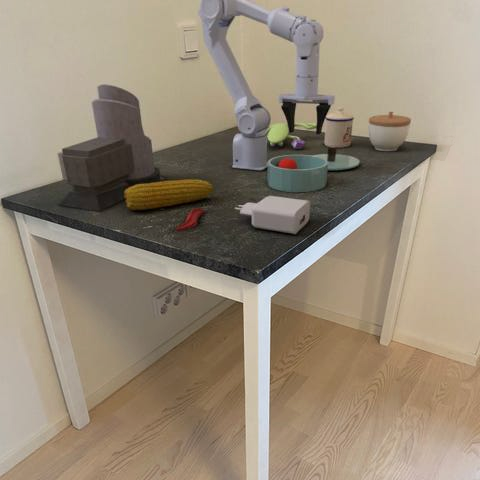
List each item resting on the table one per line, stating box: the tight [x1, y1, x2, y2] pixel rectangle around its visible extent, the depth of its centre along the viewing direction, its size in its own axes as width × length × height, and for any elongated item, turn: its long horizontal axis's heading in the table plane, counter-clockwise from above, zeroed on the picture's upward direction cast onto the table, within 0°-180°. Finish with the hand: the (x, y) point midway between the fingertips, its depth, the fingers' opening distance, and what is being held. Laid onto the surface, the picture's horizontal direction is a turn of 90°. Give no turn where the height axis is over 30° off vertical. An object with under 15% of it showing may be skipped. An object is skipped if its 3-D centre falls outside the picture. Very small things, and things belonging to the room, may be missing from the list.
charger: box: [234, 195, 311, 235], centre depth 100 cm, size 5×9×15 cm
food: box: [124, 178, 214, 211], centre depth 111 cm, size 21×6×6 cm, turn 118°
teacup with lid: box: [324, 106, 355, 149], centre depth 158 cm, size 12×9×12 cm
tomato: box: [278, 158, 297, 169], centre depth 126 cm, size 5×5×6 cm
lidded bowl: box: [368, 111, 412, 152], centre depth 152 cm, size 13×13×11 cm
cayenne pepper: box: [174, 207, 206, 231], centre depth 103 cm, size 12×5×2 cm, turn 148°
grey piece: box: [57, 83, 166, 212], centre depth 117 cm, size 30×16×24 cm, turn 156°
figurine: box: [267, 122, 317, 150], centre depth 163 cm, size 18×27×6 cm
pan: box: [267, 154, 329, 193], centre depth 124 cm, size 15×15×6 cm
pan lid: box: [312, 146, 361, 172], centre depth 139 cm, size 16×16×5 cm
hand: (304, 132), depth 129 cm, fingers open, 7 cm apart
